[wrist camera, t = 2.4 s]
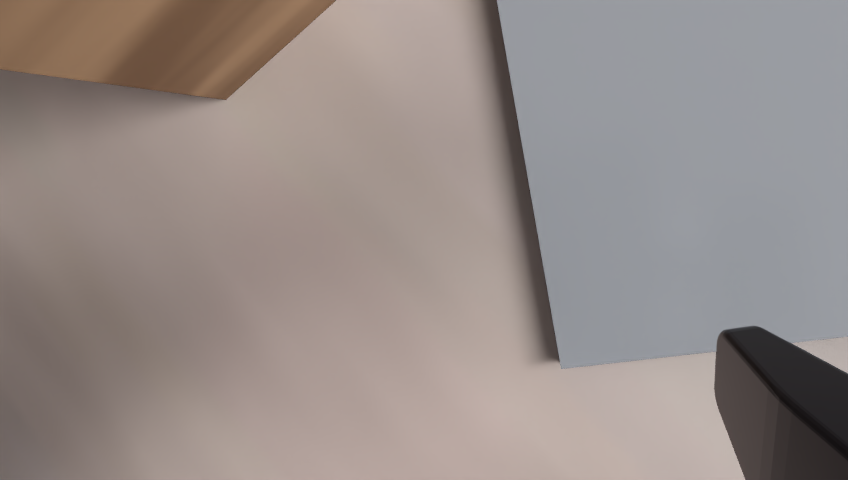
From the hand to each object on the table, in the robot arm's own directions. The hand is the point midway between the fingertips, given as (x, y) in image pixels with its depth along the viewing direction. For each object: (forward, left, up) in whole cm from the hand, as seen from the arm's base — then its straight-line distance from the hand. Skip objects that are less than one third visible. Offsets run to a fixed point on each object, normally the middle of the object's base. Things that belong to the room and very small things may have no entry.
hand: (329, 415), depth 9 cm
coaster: (+3, -7, -12) cm, 14 cm away
